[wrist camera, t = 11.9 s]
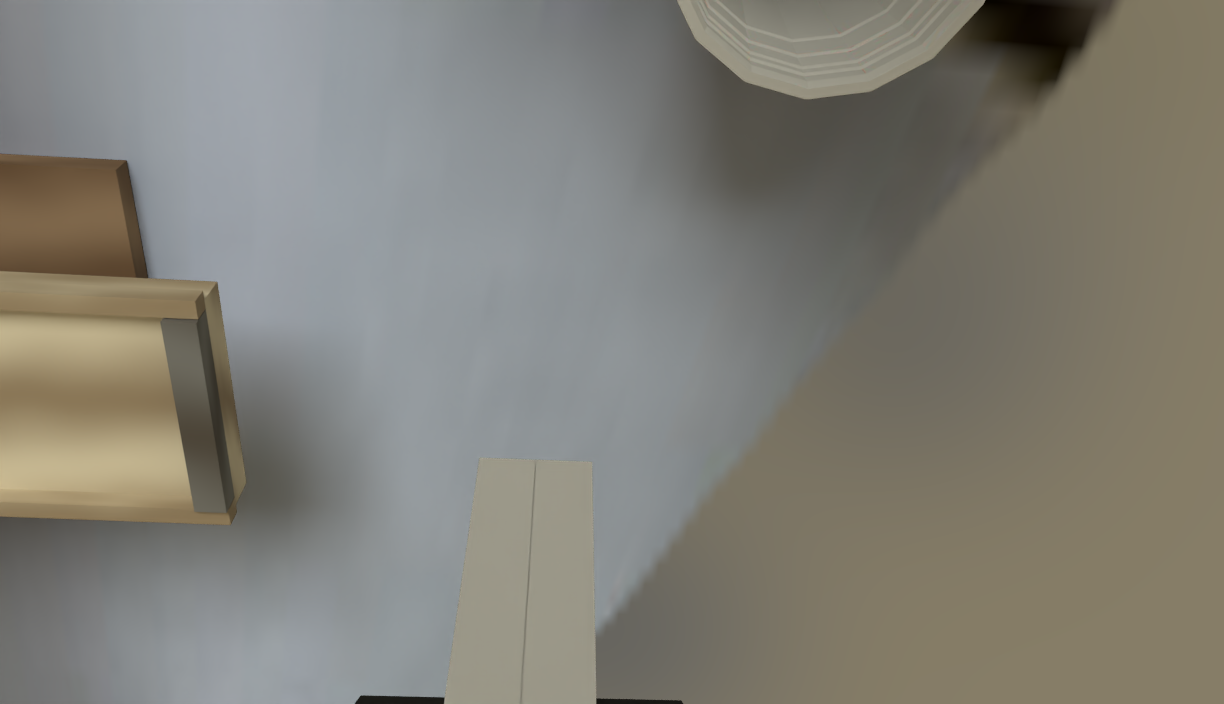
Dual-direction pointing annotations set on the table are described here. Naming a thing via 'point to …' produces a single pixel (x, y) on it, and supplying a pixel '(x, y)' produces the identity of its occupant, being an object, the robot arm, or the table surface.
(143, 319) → the seesaw beam
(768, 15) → the plastic cup
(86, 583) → the table surface
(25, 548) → the table surface
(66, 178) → the seesaw stand
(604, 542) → the table surface
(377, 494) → the table surface
